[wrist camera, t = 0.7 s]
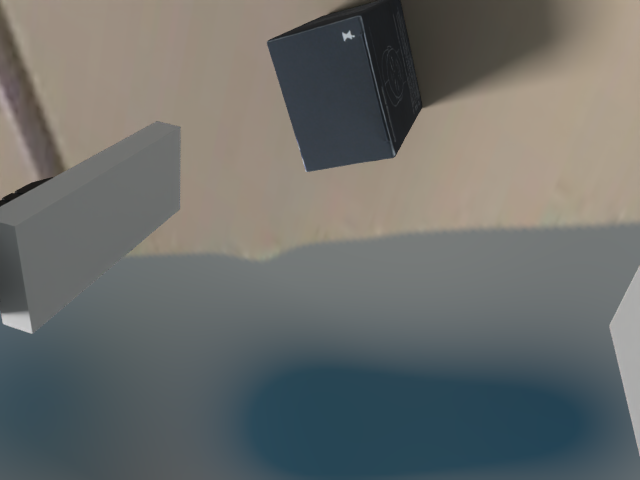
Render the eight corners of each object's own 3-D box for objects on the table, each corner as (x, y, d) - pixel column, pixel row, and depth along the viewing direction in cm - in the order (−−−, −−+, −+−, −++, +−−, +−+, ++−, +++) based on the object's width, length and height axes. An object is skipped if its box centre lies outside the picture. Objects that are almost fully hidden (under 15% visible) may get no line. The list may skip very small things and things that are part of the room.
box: (321, 16, 40) (263, 39, 31) (400, -7, 38) (363, 11, 29) (349, 125, 43) (303, 175, 34) (424, 110, 40) (397, 159, 32)
